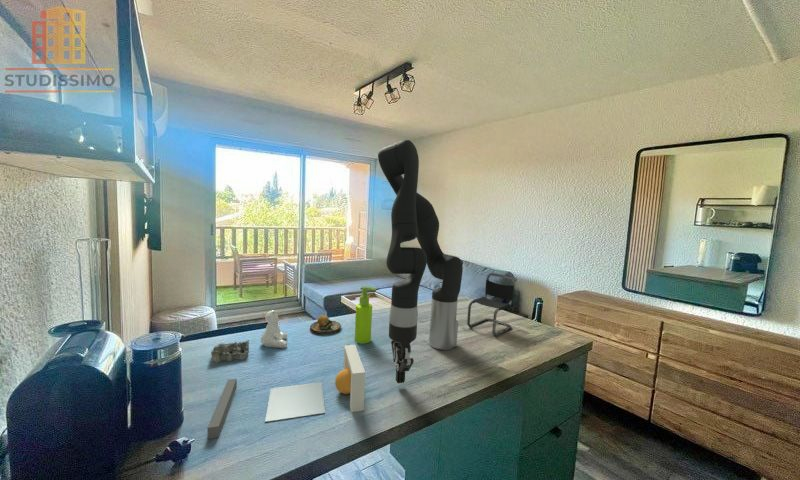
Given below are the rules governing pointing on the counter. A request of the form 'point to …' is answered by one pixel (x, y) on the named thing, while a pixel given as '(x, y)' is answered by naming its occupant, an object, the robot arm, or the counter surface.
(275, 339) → the seated beast figurine
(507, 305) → the chair
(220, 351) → the egg carton
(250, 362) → the counter surface
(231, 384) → the wall
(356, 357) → the bridge
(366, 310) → the soap dispenser
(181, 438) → the counter surface
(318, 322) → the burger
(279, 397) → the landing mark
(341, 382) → the ball
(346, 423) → the counter surface
